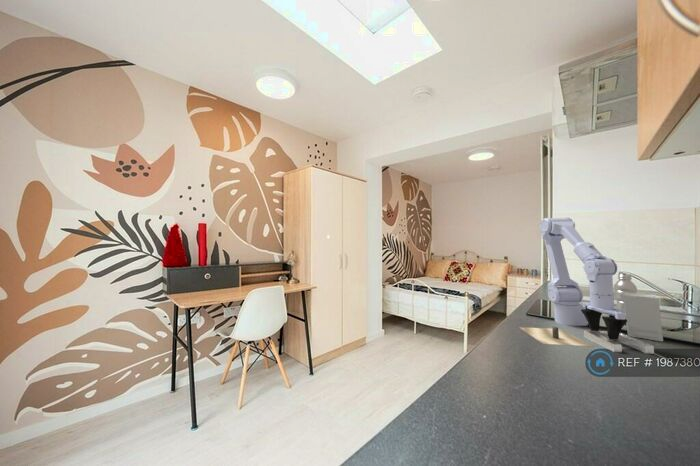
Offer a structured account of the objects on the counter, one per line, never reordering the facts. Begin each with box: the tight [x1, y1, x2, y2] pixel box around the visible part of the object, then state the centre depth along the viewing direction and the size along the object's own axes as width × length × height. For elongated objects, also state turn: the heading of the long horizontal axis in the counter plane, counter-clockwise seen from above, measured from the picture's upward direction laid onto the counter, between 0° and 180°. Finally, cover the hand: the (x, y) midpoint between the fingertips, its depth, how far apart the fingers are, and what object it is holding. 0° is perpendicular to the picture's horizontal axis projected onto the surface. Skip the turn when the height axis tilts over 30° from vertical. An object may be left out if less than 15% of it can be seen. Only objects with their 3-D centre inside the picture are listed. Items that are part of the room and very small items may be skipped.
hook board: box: [519, 326, 593, 347], centre depth 88 cm, size 14×16×5 cm
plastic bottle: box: [613, 273, 638, 319], centre depth 102 cm, size 6×7×20 cm
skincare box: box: [623, 293, 664, 342], centre depth 89 cm, size 8×6×15 cm
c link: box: [583, 329, 655, 355], centre depth 80 cm, size 10×12×3 cm
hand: (603, 334), depth 85 cm, fingers open, 7 cm apart
